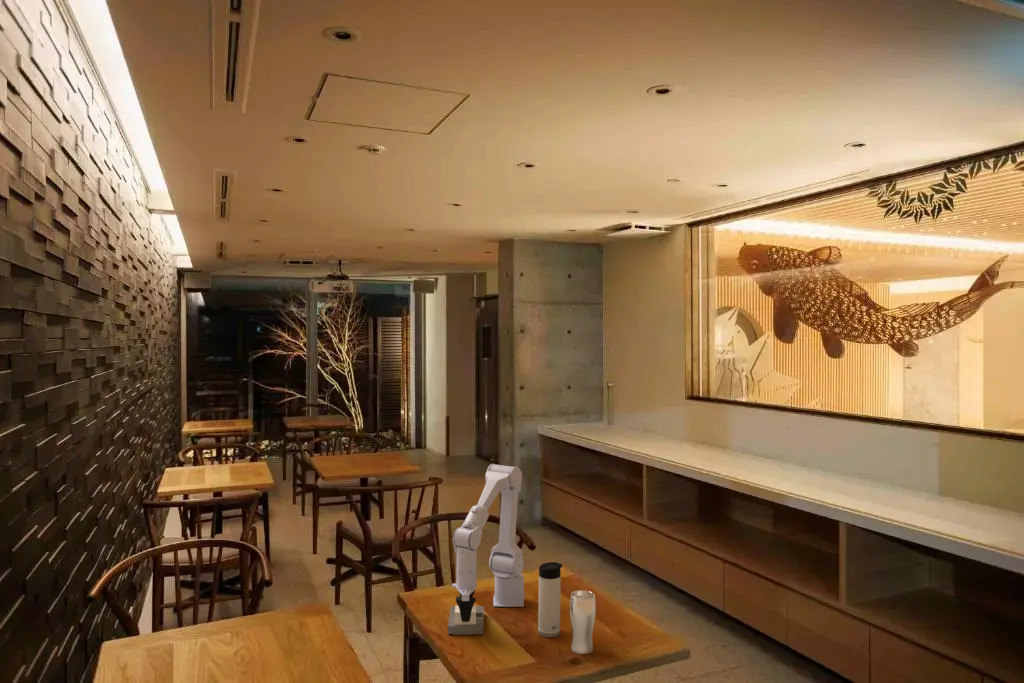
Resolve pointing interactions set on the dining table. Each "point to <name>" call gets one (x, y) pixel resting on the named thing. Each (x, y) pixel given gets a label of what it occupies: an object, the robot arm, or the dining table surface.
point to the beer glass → (582, 620)
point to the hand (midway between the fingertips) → (466, 616)
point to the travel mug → (549, 599)
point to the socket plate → (465, 629)
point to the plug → (472, 618)
